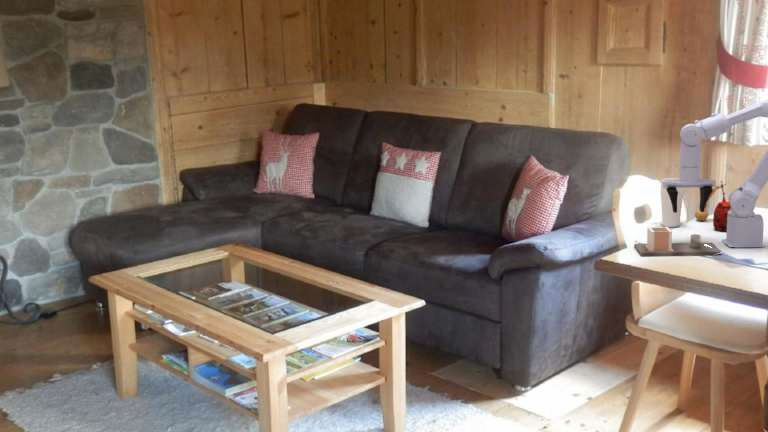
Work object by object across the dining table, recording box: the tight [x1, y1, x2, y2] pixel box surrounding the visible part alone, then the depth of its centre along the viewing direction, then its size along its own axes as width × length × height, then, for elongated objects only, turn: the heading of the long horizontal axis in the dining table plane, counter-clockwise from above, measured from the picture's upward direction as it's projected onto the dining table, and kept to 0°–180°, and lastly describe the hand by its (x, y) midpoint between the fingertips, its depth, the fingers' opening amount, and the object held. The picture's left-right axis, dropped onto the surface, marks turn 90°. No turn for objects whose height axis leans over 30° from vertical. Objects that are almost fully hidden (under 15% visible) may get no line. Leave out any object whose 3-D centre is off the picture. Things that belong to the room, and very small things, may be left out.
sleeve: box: [646, 226, 673, 251], centre depth 243 cm, size 6×6×6 cm
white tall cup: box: [660, 177, 684, 228], centre depth 270 cm, size 7×7×15 cm
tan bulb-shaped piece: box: [694, 187, 717, 222], centre depth 275 cm, size 8×6×12 cm
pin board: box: [633, 233, 723, 257], centre depth 243 cm, size 22×10×4 cm, turn 84°
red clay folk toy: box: [712, 180, 731, 232], centre depth 263 cm, size 8×7×15 cm
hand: (688, 211), depth 249 cm, fingers open, 7 cm apart
